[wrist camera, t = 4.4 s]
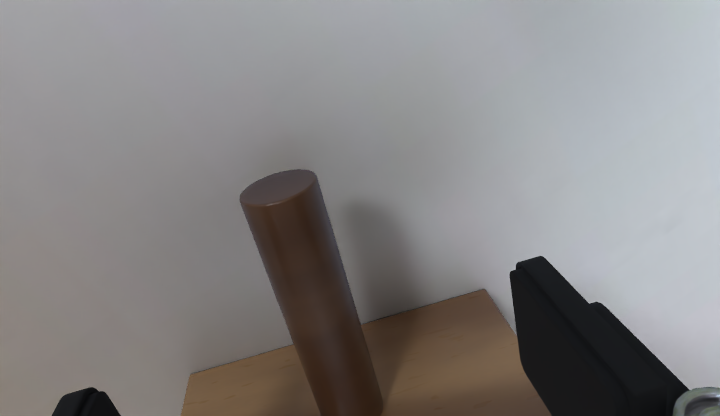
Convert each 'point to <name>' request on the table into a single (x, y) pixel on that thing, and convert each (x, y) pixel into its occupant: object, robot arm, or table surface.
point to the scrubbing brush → (357, 335)
